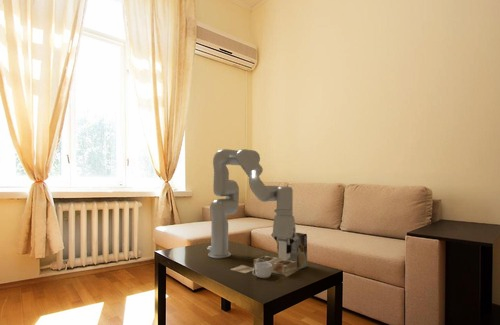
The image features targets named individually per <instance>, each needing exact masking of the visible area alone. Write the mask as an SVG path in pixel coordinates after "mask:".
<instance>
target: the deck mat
mask: <svg viewBox="0 0 500 325" xmlns="http://www.w3.org/2000/svg"><path fill="white" fill-rule="evenodd" d="M253 269H255V268H254V266H253V267H252V266H248V265H245V264H240V265H238V266H235V267H234V268H230V270H231V271H233V272H234V271H235V272H238V273H243V274H247V273H250V272H252V271H253Z"/></svg>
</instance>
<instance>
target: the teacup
mask: <svg viewBox="0 0 500 325" xmlns="http://www.w3.org/2000/svg"><path fill="white" fill-rule="evenodd" d="M251 272H252V275H254V276H257V277H258V278H261V279H268V278H270V277H271V275H272V274H273V273H272V264H271V263H267V262H259V263H256V264H255V269H253V270H252V271H251Z"/></svg>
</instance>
